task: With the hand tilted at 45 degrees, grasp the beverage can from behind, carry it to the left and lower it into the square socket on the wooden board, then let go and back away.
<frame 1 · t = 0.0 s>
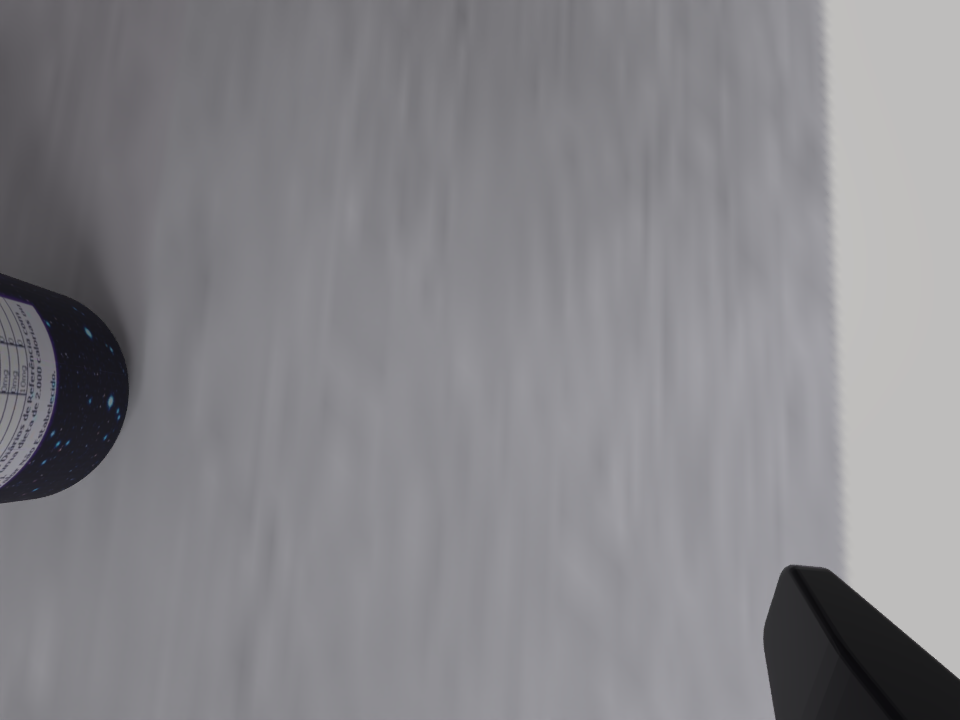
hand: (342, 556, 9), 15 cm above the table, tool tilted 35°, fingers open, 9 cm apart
beverage can: (44, 395, 24), on the table
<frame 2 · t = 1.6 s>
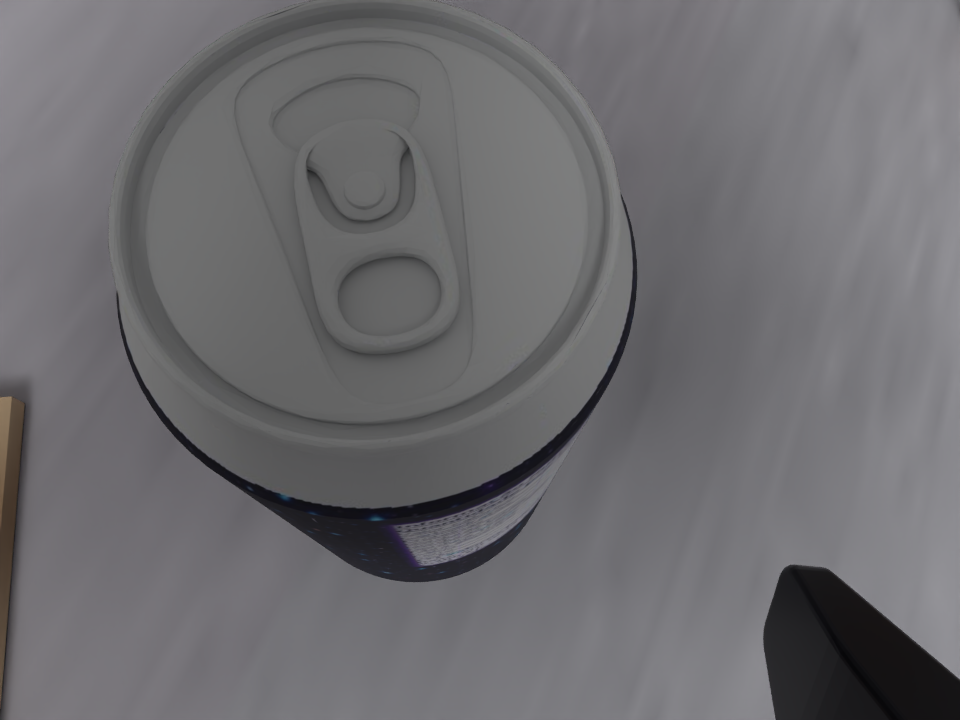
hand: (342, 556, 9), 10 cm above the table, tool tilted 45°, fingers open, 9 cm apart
beverage can: (420, 458, 20), on the table
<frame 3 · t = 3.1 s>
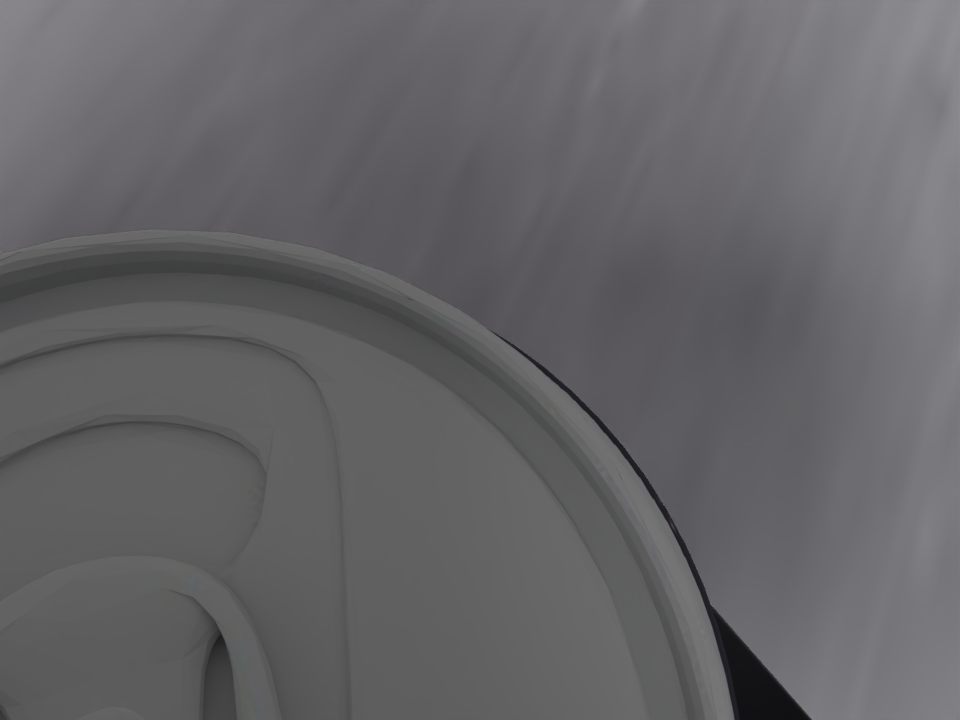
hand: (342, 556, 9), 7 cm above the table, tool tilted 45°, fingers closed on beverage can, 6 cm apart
beverage can: (382, 669, 15), on the table, touching gripper
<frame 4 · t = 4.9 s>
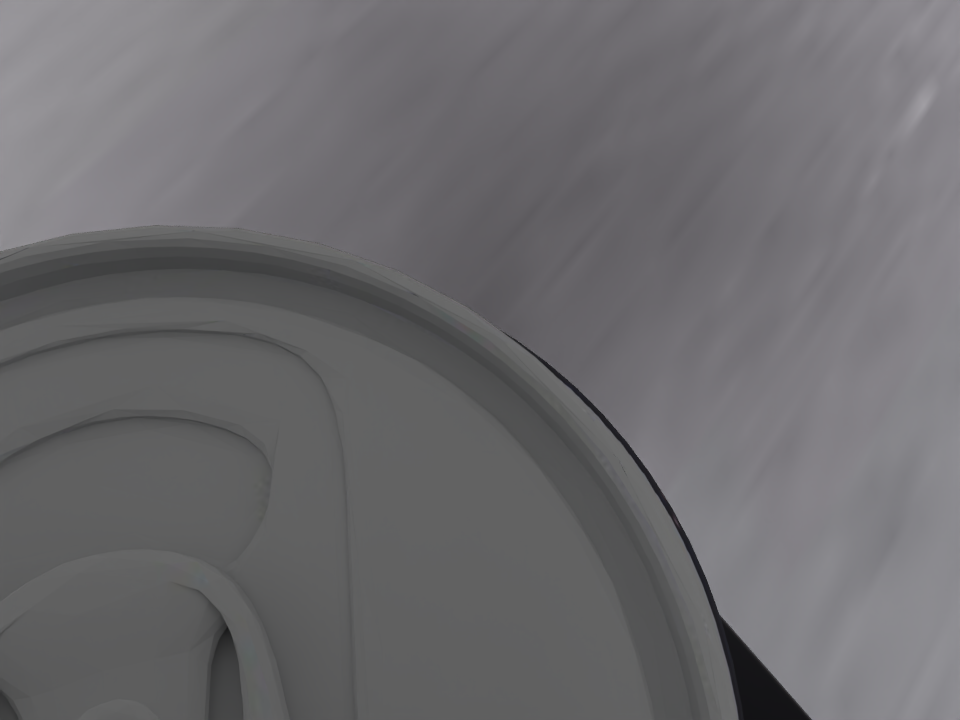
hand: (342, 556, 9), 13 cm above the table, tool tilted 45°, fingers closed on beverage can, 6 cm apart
beverage can: (386, 667, 15), point 6 cm above the table, touching gripper
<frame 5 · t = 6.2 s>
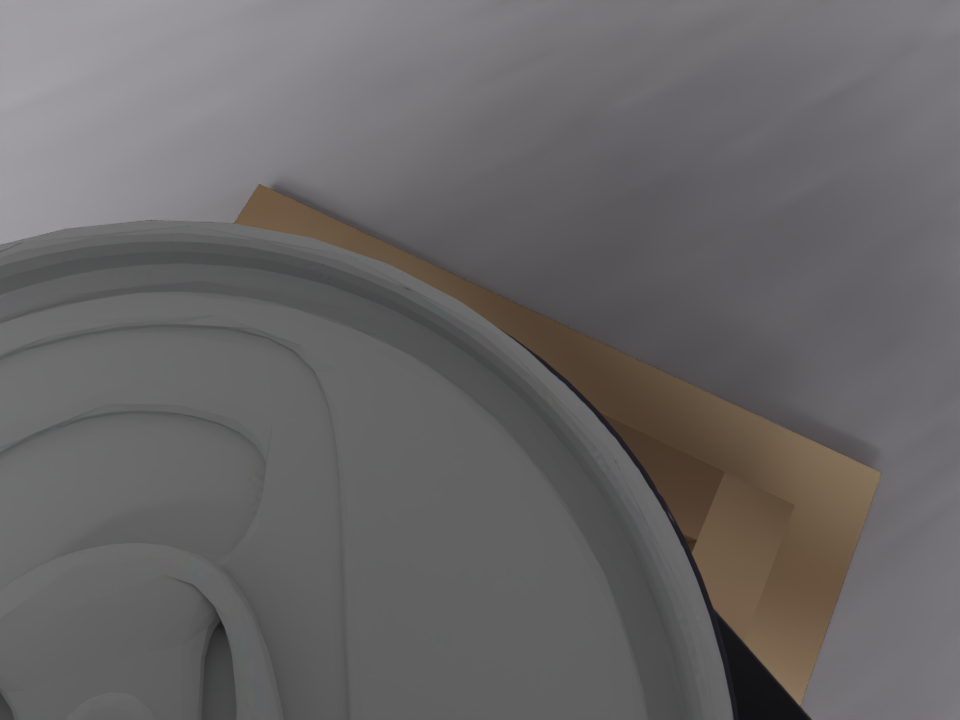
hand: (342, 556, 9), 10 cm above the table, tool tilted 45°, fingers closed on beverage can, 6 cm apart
socket board: (399, 645, 18), on the table
beverage can: (384, 665, 15), point 4 cm above the table, touching gripper
when the fingers open (8 cm above the table, at t = 7.0 s): beverage can stays where it is, resting on socket board.
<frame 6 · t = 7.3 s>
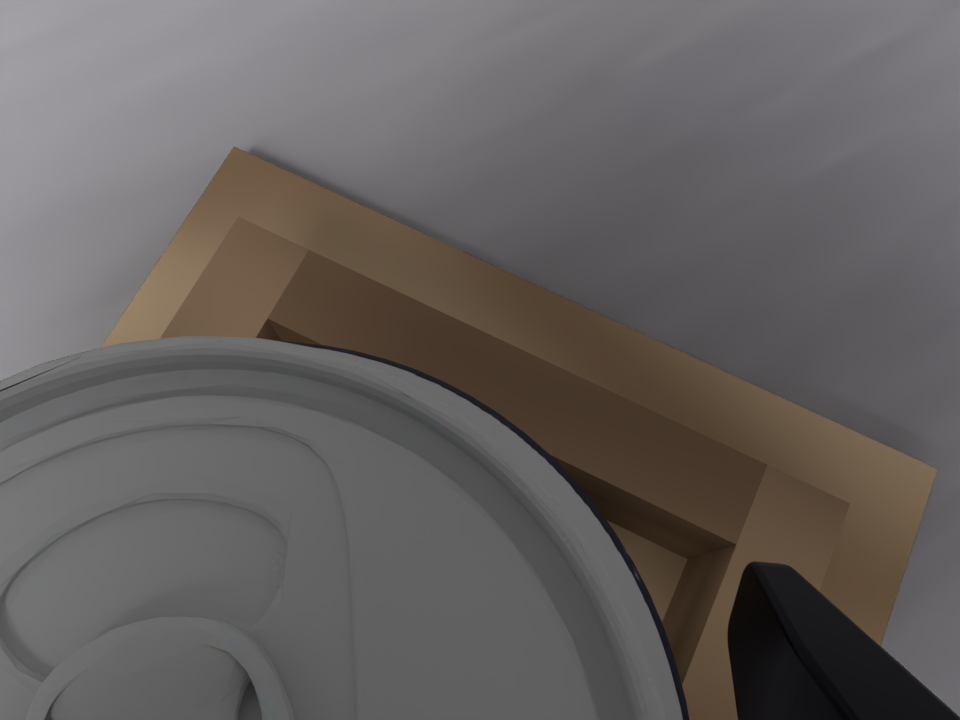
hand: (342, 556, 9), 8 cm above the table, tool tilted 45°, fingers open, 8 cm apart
socket board: (389, 666, 16), on the table
beverage can: (386, 680, 16), resting on socket board
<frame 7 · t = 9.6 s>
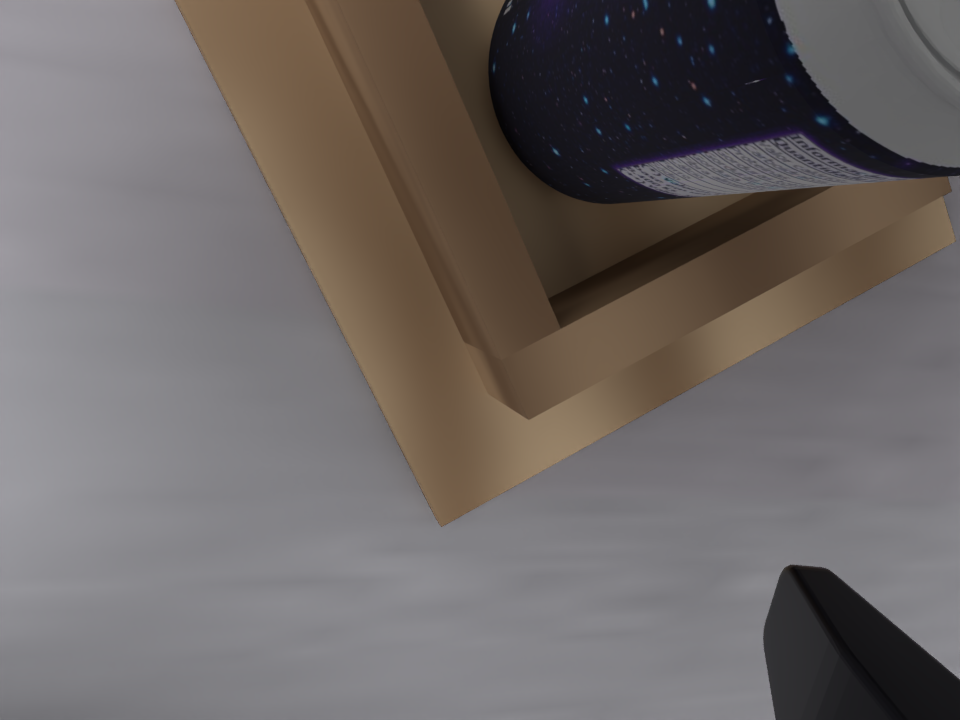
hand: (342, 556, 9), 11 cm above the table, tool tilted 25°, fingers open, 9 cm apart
socket board: (589, 79, 20), on the table
beverage can: (590, 83, 20), resting on socket board
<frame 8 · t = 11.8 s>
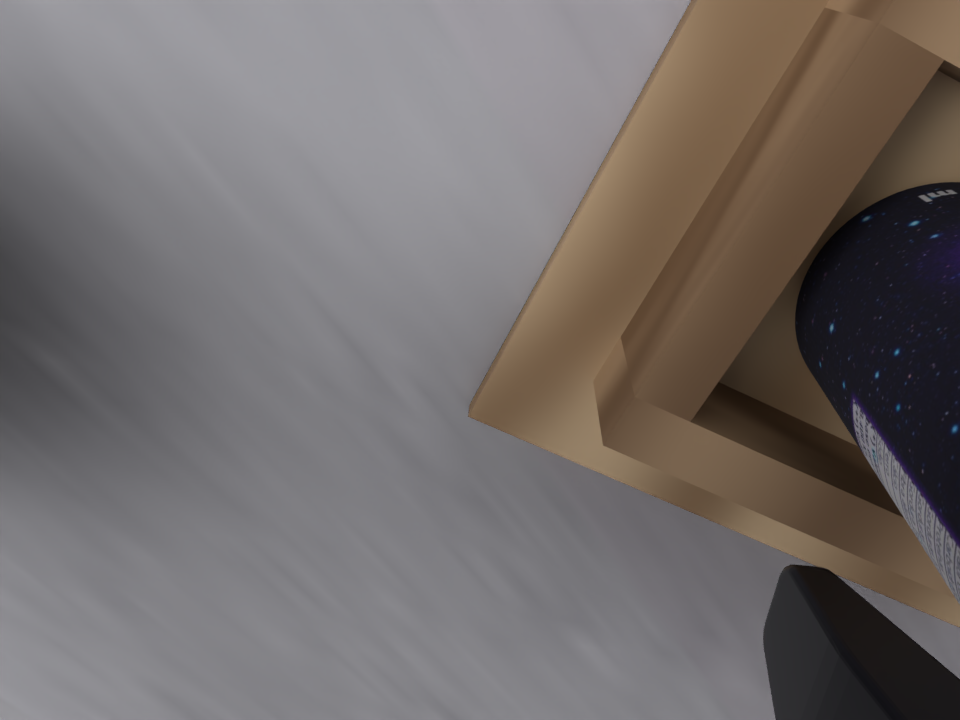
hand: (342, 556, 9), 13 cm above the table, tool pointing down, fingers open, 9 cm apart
socket board: (905, 280, 21), on the table
beverage can: (903, 285, 20), resting on socket board
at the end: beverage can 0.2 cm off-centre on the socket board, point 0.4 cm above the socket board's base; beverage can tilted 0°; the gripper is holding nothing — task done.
